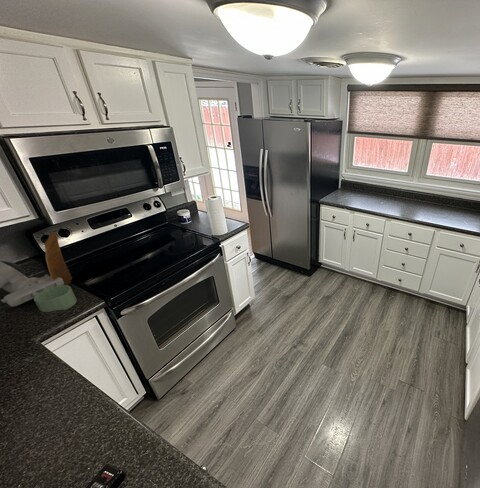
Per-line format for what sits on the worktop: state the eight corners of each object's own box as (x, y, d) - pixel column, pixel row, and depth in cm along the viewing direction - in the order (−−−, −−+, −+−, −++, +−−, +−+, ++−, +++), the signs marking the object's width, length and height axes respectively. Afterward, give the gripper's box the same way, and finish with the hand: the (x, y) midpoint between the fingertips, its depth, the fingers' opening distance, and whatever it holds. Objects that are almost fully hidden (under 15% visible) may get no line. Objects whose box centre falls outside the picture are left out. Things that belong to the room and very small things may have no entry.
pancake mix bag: (79, 274, 151) (60, 229, 139) (67, 292, 136) (45, 243, 124) (64, 277, 148) (43, 231, 136) (50, 295, 133) (25, 246, 121)
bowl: (33, 315, 120) (25, 301, 116) (57, 298, 131) (50, 285, 128) (62, 315, 121) (55, 301, 117) (83, 298, 132) (78, 285, 128)
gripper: (-6, 294, 119) (13, 301, 115) (50, 272, 136) (67, 278, 132) (1, 305, 121) (19, 313, 117) (55, 282, 139) (72, 288, 135)
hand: (45, 294), depth 125 cm, fingers closed, pressing on bowl
